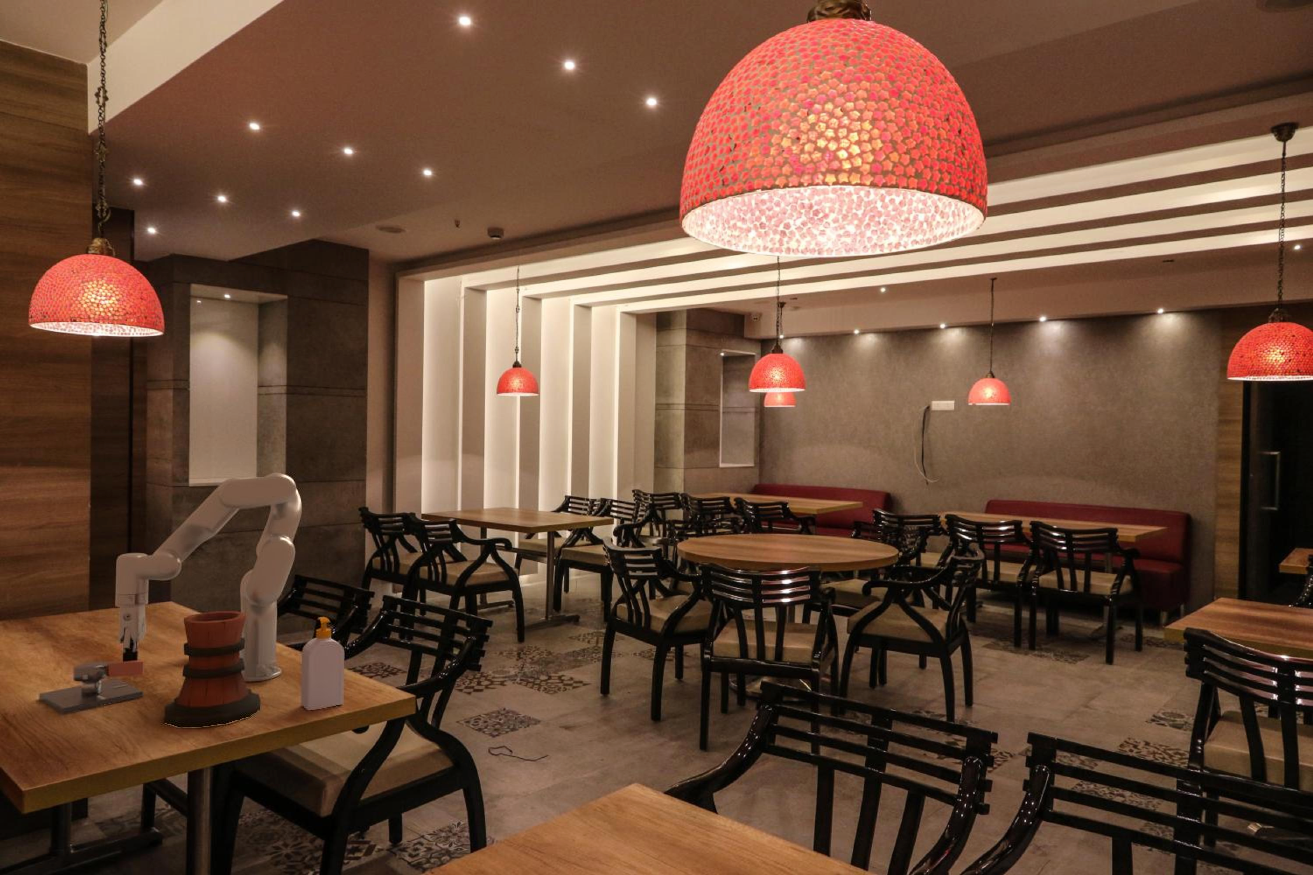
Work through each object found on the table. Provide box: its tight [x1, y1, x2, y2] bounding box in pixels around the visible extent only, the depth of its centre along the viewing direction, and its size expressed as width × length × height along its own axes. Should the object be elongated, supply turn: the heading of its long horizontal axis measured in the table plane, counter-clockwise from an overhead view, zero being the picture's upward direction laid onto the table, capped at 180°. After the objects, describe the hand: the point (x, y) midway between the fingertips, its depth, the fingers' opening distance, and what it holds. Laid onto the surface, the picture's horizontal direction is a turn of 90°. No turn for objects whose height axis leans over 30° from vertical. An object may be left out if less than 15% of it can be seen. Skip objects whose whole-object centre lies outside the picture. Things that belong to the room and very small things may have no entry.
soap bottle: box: [300, 616, 345, 711], centre depth 213 cm, size 9×7×23 cm
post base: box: [38, 678, 144, 715], centre depth 215 cm, size 18×18×5 cm
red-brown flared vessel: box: [163, 610, 261, 727], centre depth 207 cm, size 22×25×25 cm
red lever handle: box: [72, 659, 146, 683], centre depth 216 cm, size 16×10×4 cm, turn 109°
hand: (130, 665), depth 220 cm, fingers closed
